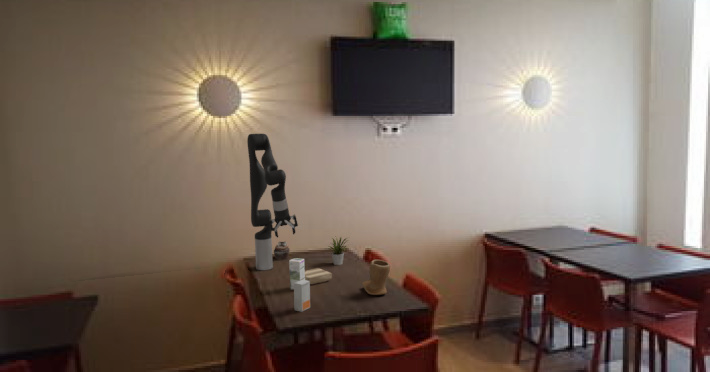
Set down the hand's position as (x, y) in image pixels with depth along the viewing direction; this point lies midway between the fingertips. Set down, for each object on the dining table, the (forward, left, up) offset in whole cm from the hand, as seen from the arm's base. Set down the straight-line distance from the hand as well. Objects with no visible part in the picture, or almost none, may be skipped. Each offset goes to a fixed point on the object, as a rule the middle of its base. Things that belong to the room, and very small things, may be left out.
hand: (285, 235), depth 258 cm
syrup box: (+23, -6, -22) cm, 33 cm away
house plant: (-1, +35, -22) cm, 41 cm away
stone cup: (+51, +21, -22) cm, 59 cm away
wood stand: (+17, +7, -22) cm, 28 cm away
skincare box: (+49, -18, -22) cm, 57 cm away
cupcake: (-35, +15, -22) cm, 44 cm away
